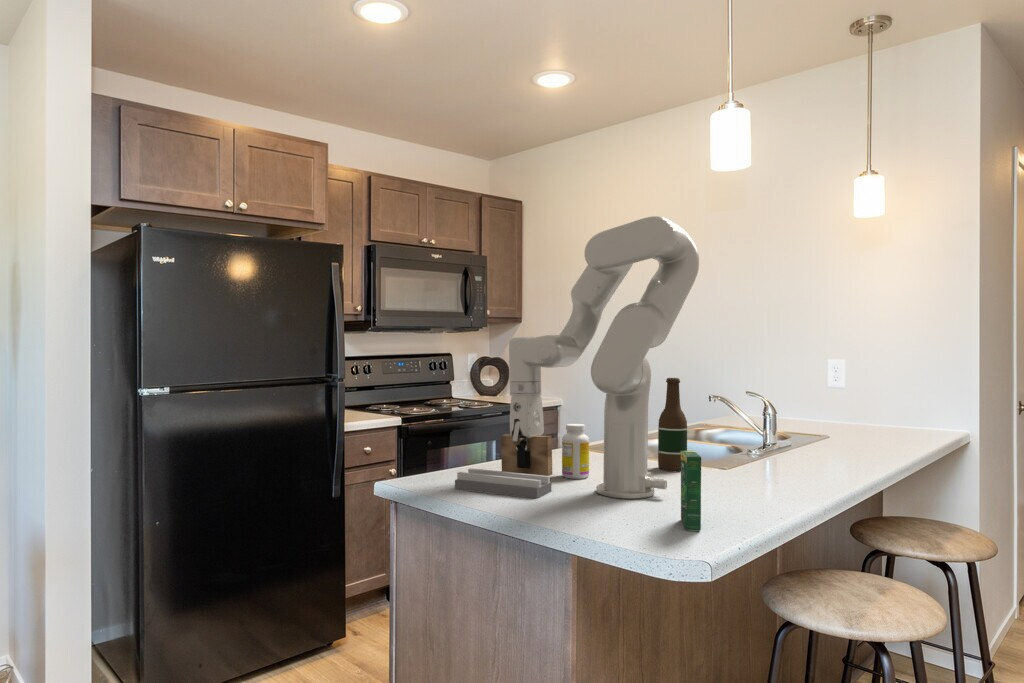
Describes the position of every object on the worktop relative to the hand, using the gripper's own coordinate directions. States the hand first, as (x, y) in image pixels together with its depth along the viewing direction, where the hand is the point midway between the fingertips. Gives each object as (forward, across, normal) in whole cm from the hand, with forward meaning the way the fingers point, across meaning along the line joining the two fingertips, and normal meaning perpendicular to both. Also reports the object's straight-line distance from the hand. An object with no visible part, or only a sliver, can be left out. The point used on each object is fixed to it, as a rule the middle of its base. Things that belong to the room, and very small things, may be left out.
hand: (526, 466), depth 159 cm
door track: (+4, -11, +1) cm, 12 cm away
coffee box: (+5, -21, -42) cm, 47 cm away
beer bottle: (+5, +33, -27) cm, 43 cm away
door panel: (+2, 0, 0) cm, 2 cm away
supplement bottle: (+4, +11, -8) cm, 14 cm away
